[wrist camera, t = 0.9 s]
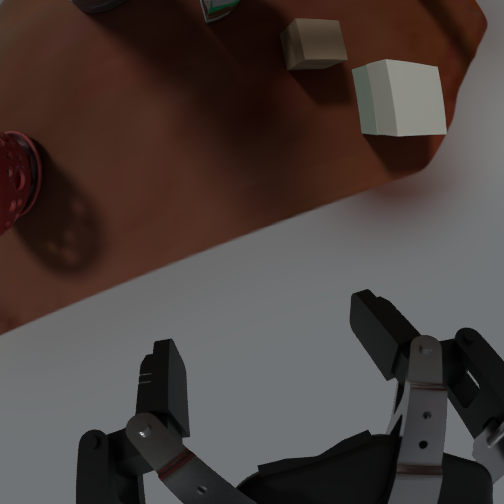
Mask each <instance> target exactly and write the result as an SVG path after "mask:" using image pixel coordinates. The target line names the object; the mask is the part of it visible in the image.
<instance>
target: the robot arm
mask: <svg viewBox="0 0 504 504" xmlns="http://www.w3.org/2000/svg"><path fill="white" fill-rule="evenodd" d="M70 1H71V2H72V3H73V4H74V5H76V6H77V7H78V8H79V9H80V10H82V11H83V12H87V13H100V12H104V11H107V10H110V9H112V8H115V7H117V6H119V5H120V4H122V3H124V2H125V1H126V0H70ZM350 325H351V328H352V330H353V332H354V334H355V335H356V337H357V338H358V339H359V341H360V342H361V344H362V345H363V347H364V348H365V350H366V351H367V352H368V354H369V355H370V357H371V358H372V360H373V361H374V363H375V364H376V366H377V367H378V368H379V370H380V371H381V373H382V374H383V376H384V377H385V379H386V380H387V381H388V380H390V379H393V378H396V379H397V381H398V383H397V385H396V393H395V398H394V405H393V410H392V415H391V420H390V423H389V426H388V428H387V432H386V434H376V435H371V434H370V432H369V430H366V431H364V432H362V433H359V434H357V435H354V436H352V437H350V438H347V439H344V440H342V441H341V442H339V443H338V444H336V445H335V446H333V447H332V448H330V449H329V450H327V451H325V452H324V453H322V454H321V455H318V456H315V457H304V458H290V459H283V460H279V461H275V462H271V463H267V464H263V465H258V470H259V471H258V472H256V473H254V474H252V475H251V476H249V477H247V478H246V479H245V480H243V481H242V482H241V483H240V484H239V485H238V486H237V487H236V488H235V487H233V486H232V485H231V484H230V483H228V482H227V481H226V480H225V479H223V478H222V477H221V476H220V475H218V474H217V473H216V472H215V471H213V470H212V469H211V468H210V467H209V466H207V465H206V464H205V463H204V462H203V461H202V460H201V459H199V458H198V457H197V456H196V455H195V454H194V453H193V452H191V451H190V450H188V448H186V447H185V446H184V445H183V443H182V438H184V437H190V431H189V417H188V400H187V379H186V369H185V365H184V363H183V360H182V358H181V356H180V355H179V352H178V350H177V348H176V346H175V343H174V341H173V340H172V339H166V340H160V341H155V342H154V349H153V354H149V355H146V356H145V358H144V360H143V361H142V363H141V366H140V376H139V385H138V394H137V404H136V413H135V416H133V417H132V418H131V419H130V420H129V421H128V423H127V425H126V427H125V428H124V429H122V430H119V431H116V432H113V433H110V434H108V435H106V434H105V433H103V432H102V431H100V430H90V431H88V432H86V433H85V434H84V435H83V436H82V437H81V439H80V442H79V449H78V461H77V478H76V479H77V480H76V504H146V503H145V494H144V485H143V474H145V473H148V472H151V471H153V470H155V471H156V472H157V473H158V477H159V479H160V480H161V481H162V482H163V483H164V484H165V485H166V486H167V487H168V489H169V490H170V491H171V492H172V493H173V494H174V495H175V496H176V497H177V498H178V499H179V500H181V502H182V503H184V504H493V496H492V495H493V494H492V493H493V484H494V483H495V482H496V481H497V480H498V479H500V478H501V477H502V476H503V475H504V361H503V360H502V359H501V358H500V356H499V355H498V354H497V353H496V352H495V351H494V349H493V348H492V347H491V346H490V345H489V344H488V343H487V341H486V340H485V339H484V338H483V337H482V336H481V335H480V334H479V333H478V332H477V331H476V330H474V329H471V328H462V329H460V330H458V332H457V333H456V335H455V338H454V339H449V340H444V341H438V340H437V339H436V338H434V337H432V336H429V335H421V334H420V333H419V332H418V331H417V330H416V329H415V328H414V327H413V326H412V325H411V323H410V322H409V321H408V320H407V319H406V318H405V317H404V316H403V315H401V313H400V312H399V311H398V310H397V309H396V307H395V306H394V305H393V304H392V303H391V302H390V301H388V300H386V299H384V298H382V297H376V296H375V295H374V294H373V293H372V292H371V291H370V290H368V289H366V290H363V291H360V292H357V293H353V294H352V296H351V309H350ZM468 371H469V372H470V373H471V375H472V376H473V377H474V379H475V380H476V381H477V383H478V384H479V388H480V389H479V388H478V386H477V385H476V384H475V382H474V381H473V380H472V378H471V377H470V376H469V374H468V373H467V372H468ZM447 397H448V398H449V400H450V401H451V403H452V405H453V406H454V408H455V409H456V411H457V412H458V414H459V415H460V417H461V419H462V420H463V422H464V423H465V425H466V427H467V428H468V430H469V432H470V433H471V435H472V437H473V438H474V443H473V452H472V456H473V457H474V458H475V459H476V462H475V461H471V460H468V459H464V458H461V457H457V456H454V455H450V454H447V453H444V452H443V450H444V441H445V431H446V417H447Z"/></svg>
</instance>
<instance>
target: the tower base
mask: <svg viewBox="0 0 504 504" xmlns="http://www.w3.org/2000/svg"><path fill="white" fill-rule="evenodd" d="M352 73H353V78H354V83H355V89H356V95H357V101H358V108H359V115H360V122H361V130H362V134H373V135H381V134H378V132H377V124H376V117H375V110H374V103H373V97H372V92H371V86H370V81H369V76H368V71H367V66H362V67H359V68H355V69H352Z"/></svg>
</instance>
